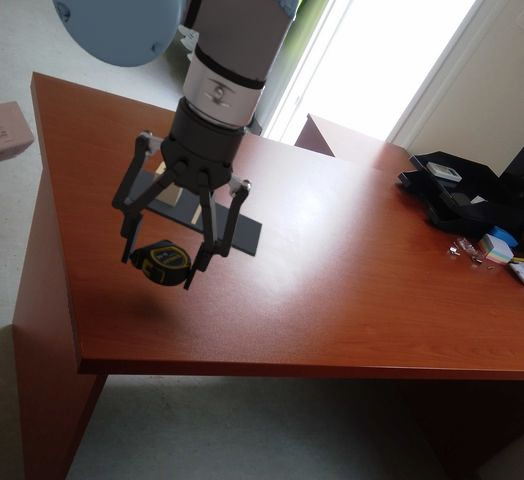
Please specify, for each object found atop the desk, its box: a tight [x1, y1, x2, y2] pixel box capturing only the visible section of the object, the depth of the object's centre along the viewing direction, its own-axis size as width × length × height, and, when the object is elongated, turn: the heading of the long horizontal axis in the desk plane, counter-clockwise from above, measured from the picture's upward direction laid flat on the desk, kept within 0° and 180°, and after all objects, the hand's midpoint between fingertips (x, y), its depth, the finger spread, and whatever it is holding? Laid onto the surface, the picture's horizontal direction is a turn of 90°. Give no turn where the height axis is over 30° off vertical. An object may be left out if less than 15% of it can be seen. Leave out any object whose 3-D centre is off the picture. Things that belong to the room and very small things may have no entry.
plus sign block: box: [153, 161, 183, 207], centre depth 86 cm, size 5×5×5 cm
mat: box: [128, 169, 263, 257], centre depth 89 cm, size 26×12×1 cm, turn 85°
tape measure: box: [129, 238, 193, 287], centre depth 62 cm, size 7×7×4 cm
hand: (157, 270), depth 63 cm, fingers closed on tape measure, 8 cm apart
